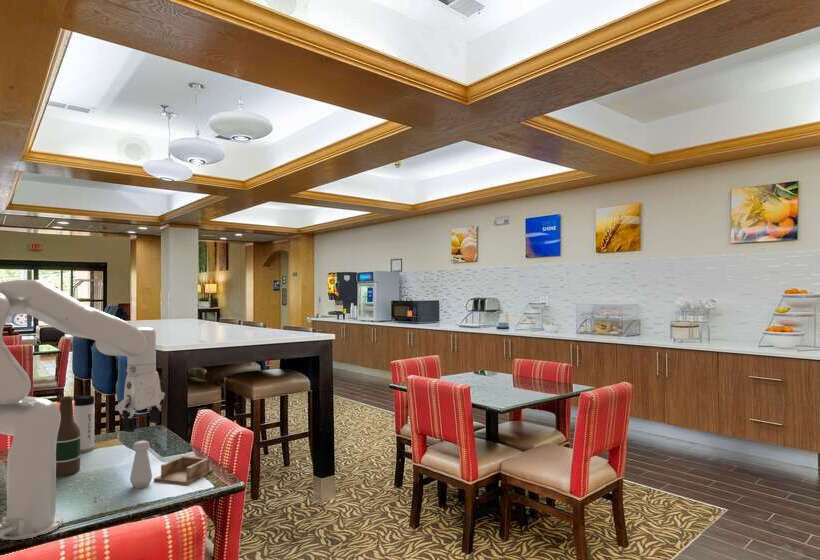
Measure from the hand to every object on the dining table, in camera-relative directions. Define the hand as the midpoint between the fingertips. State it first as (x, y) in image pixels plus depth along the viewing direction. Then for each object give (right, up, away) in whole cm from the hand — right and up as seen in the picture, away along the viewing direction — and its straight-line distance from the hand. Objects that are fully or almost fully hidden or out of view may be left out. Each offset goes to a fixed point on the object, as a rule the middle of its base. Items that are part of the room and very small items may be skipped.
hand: (142, 426), depth 153 cm
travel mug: (-39, -18, +34) cm, 55 cm away
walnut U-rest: (+9, -17, +7) cm, 21 cm away
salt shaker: (0, -17, -1) cm, 18 cm away
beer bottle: (-30, -18, +11) cm, 37 cm away
